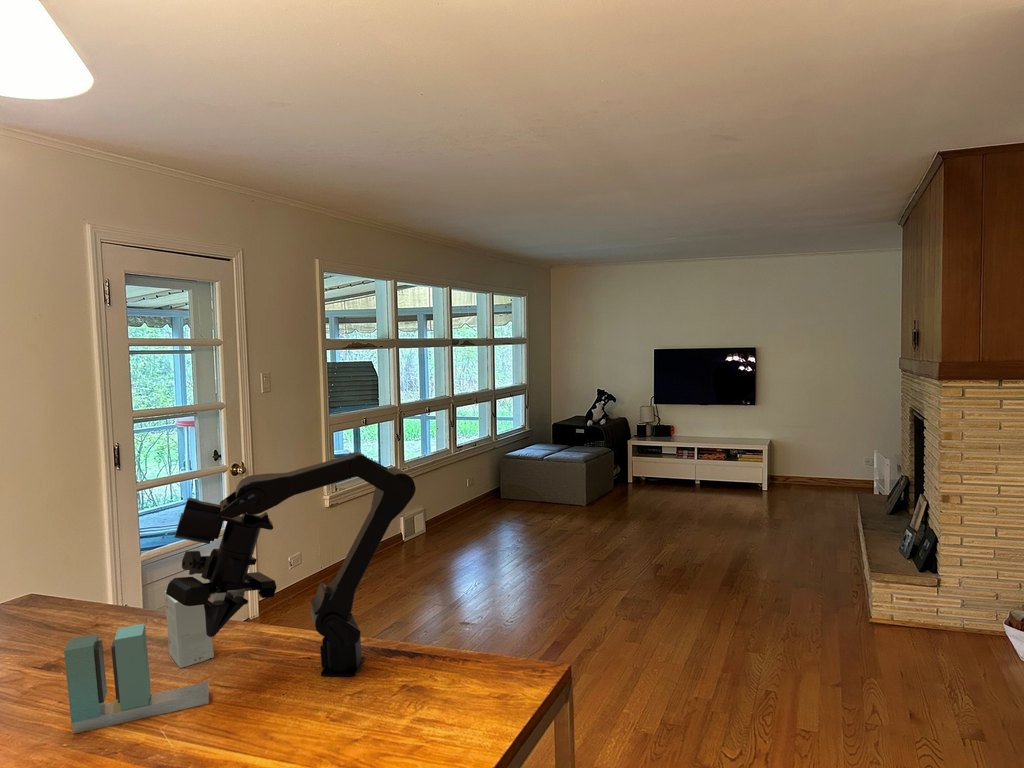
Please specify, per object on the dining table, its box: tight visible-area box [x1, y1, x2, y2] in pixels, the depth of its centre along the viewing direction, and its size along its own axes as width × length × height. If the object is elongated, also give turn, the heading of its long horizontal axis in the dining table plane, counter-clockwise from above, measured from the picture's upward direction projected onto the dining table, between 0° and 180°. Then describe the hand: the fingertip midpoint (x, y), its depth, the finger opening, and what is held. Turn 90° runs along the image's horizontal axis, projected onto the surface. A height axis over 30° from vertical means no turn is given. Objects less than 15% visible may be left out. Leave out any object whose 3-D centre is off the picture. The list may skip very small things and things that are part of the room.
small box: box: [164, 590, 215, 669], centre depth 137 cm, size 8×6×13 cm
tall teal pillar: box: [110, 623, 152, 711], centre depth 116 cm, size 5×5×12 cm
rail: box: [63, 633, 210, 735], centre depth 117 cm, size 20×5×14 cm, turn 112°
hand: (210, 636), depth 121 cm, fingers closed
